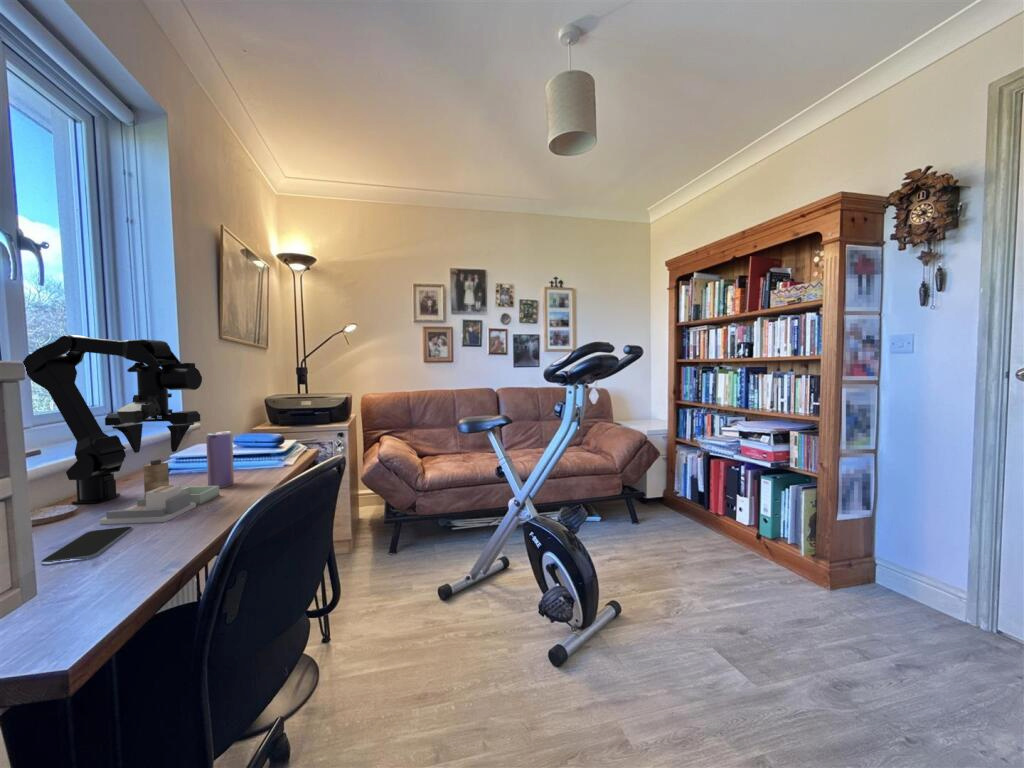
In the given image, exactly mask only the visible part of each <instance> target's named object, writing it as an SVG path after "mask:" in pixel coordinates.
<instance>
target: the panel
mask: <svg viewBox="0 0 1024 768" xmlns="http://www.w3.org/2000/svg"><path fill="white" fill-rule="evenodd" d="M195 508H197V505H196V502H191V503H190V492H189V493H182V494H180V495H178V496H175V497H173V498H171V499H169V500H166V512H165V508H164V509H146V498H145V497H143V498H137V499H136V504H135V505H132V506H130V507H127V508H125V509H112V510H111V509H110V510H108V511H105V513H106V514H105V515H106V516H105V517H103V518H100V519H99V525H115V524H116V525H118V524H120V525H121V524H145V523H166V522H168V521H170V520H172V519H174V518H176V517H178V516H180V515H183V514H184V513H186V512H188V511H190V510H191V509H195Z"/></svg>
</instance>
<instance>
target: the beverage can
mask: <svg viewBox="0 0 1024 768" xmlns="http://www.w3.org/2000/svg"><path fill="white" fill-rule="evenodd" d="M206 435H207V436H206V441H205V442H206V464H207V465H206V468H207V472H206V473H207V486H219V489H222V488H228V487H231V486H232V485H234V483H235V481H234V480H235V479H234V478H235V475H234V474H235V473H234V472H235V471H234V449H233V447H234V446H233V443H234V442H233V435H232V431H230V430H229V431H228V430H226V431H225V430H224V431H222V430H221V431H212V432H208V433H207V434H206Z"/></svg>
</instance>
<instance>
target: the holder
mask: <svg viewBox="0 0 1024 768" xmlns="http://www.w3.org/2000/svg"><path fill="white" fill-rule="evenodd" d="M189 492H190V503H191V502H196V506H201V505H203V504H205V503H206V502H209V501H211V500H213V499H215V498H217V497H218V496H220V488H219V486H208V485H198V486H197V485H193V486H186V487H183V488H181V494H182V493H189Z"/></svg>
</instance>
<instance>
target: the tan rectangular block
mask: <svg viewBox="0 0 1024 768" xmlns="http://www.w3.org/2000/svg"><path fill="white" fill-rule="evenodd" d="M169 475H170V474H169V461H167V462H165V461H162V459H161V458H160V459H159V458H158V459H151V460H150V463H148V464H145V465H143V486H144V489H143V490H144V492H143V493H144V498H146V492H149V491H151V490H154V489H156V488H159V487H162V486H169V485H170V481H169V480H170V479H169V478H170V476H169Z"/></svg>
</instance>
